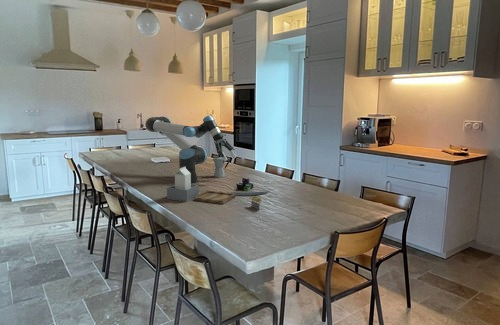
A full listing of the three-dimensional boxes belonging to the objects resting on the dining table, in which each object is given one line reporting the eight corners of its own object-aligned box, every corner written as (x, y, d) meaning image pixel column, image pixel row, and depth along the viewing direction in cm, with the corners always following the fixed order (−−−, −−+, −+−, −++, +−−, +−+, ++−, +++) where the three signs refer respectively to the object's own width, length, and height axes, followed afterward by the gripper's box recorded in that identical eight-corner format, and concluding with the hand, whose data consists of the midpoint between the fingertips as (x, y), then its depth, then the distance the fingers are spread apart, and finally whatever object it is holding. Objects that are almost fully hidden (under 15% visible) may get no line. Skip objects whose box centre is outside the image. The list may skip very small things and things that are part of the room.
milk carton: (191, 196, 222) (190, 166, 219) (185, 199, 215) (184, 168, 212) (181, 195, 224) (180, 166, 221) (175, 198, 218) (174, 168, 214)
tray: (193, 200, 214) (193, 197, 214) (207, 193, 230) (207, 190, 230) (223, 204, 207) (223, 200, 207) (235, 196, 223) (235, 193, 223)
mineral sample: (274, 186, 255) (274, 173, 253) (263, 198, 221) (262, 183, 220) (229, 185, 264) (228, 173, 263) (211, 196, 231) (210, 183, 230)
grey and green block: (256, 203, 211) (256, 192, 210) (274, 211, 197) (274, 199, 195) (239, 206, 205) (239, 195, 204) (256, 214, 190) (256, 202, 189)
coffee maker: (209, 176, 281) (209, 154, 278) (214, 174, 289) (214, 152, 286) (226, 178, 276) (226, 155, 273) (231, 176, 284) (231, 154, 281)
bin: (167, 199, 216) (166, 187, 215) (179, 193, 229) (179, 183, 228) (187, 201, 211) (187, 190, 210) (198, 196, 224) (198, 185, 223)
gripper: (211, 133, 252) (225, 159, 250) (228, 130, 274) (242, 154, 272) (204, 138, 256) (218, 164, 254) (221, 135, 278) (234, 159, 276)
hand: (230, 159), depth 263 cm, fingers open, 13 cm apart
